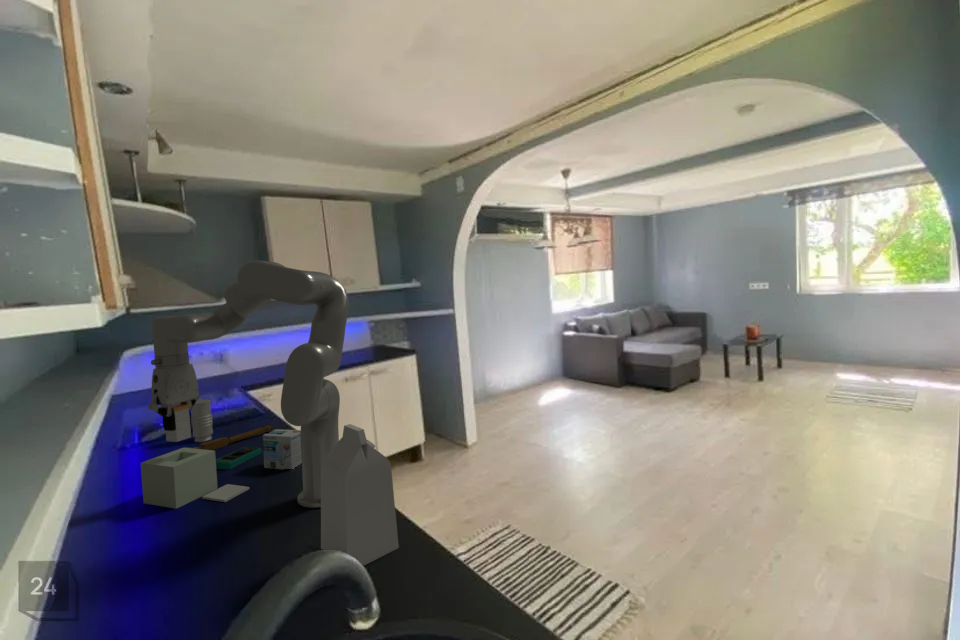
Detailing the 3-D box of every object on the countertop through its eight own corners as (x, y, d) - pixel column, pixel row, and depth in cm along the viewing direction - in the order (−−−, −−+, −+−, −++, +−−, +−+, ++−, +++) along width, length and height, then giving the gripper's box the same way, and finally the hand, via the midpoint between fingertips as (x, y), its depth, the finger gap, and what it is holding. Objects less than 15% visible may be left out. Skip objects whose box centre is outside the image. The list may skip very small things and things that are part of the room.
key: (177, 441, 115) (174, 408, 115) (165, 441, 117) (162, 407, 116) (191, 436, 119) (189, 404, 119) (180, 436, 121) (177, 403, 120)
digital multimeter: (263, 454, 151) (263, 446, 150) (229, 471, 136) (228, 462, 136) (246, 453, 152) (245, 445, 152) (210, 470, 138) (209, 461, 138)
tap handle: (272, 425, 175) (192, 448, 150) (273, 432, 175) (193, 457, 150) (268, 424, 177) (188, 447, 151) (268, 431, 177) (188, 455, 151)
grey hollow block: (217, 488, 123) (215, 450, 122) (176, 508, 111) (173, 467, 111) (186, 484, 126) (183, 447, 126) (143, 503, 115) (140, 462, 114)
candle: (217, 438, 169) (214, 400, 168) (198, 443, 163) (195, 404, 162) (208, 435, 173) (205, 398, 172) (189, 440, 167) (186, 402, 166)
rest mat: (249, 489, 122) (249, 486, 122) (224, 502, 114) (224, 499, 114) (227, 486, 124) (227, 484, 124) (202, 498, 117) (202, 496, 117)
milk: (320, 548, 91) (314, 428, 90) (369, 527, 99) (364, 416, 98) (348, 573, 83) (341, 440, 81) (398, 547, 91) (393, 426, 89)
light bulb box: (263, 468, 137) (261, 435, 136) (278, 460, 143) (276, 428, 143) (292, 470, 134) (290, 436, 134) (306, 462, 141) (304, 429, 140)
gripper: (150, 366, 108) (156, 438, 109) (210, 356, 124) (215, 419, 125) (129, 366, 110) (135, 436, 111) (191, 356, 126) (196, 418, 127)
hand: (178, 426), depth 118 cm, fingers closed on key, 4 cm apart
